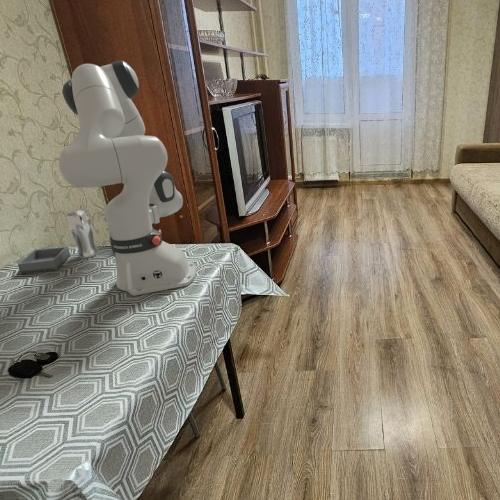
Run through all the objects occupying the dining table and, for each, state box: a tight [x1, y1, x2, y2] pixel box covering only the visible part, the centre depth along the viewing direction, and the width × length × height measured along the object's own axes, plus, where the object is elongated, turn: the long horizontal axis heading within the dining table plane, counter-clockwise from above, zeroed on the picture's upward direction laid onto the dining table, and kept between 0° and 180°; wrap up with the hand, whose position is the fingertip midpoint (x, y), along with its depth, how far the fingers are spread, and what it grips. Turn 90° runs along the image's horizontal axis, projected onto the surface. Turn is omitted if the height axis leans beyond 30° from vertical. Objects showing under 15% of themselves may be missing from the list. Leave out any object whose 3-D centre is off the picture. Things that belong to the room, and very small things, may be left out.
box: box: [17, 246, 71, 275], centre depth 123 cm, size 11×11×4 cm
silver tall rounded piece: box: [66, 209, 99, 259], centre depth 125 cm, size 7×7×15 cm
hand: (111, 222), depth 132 cm, fingers open, 8 cm apart
